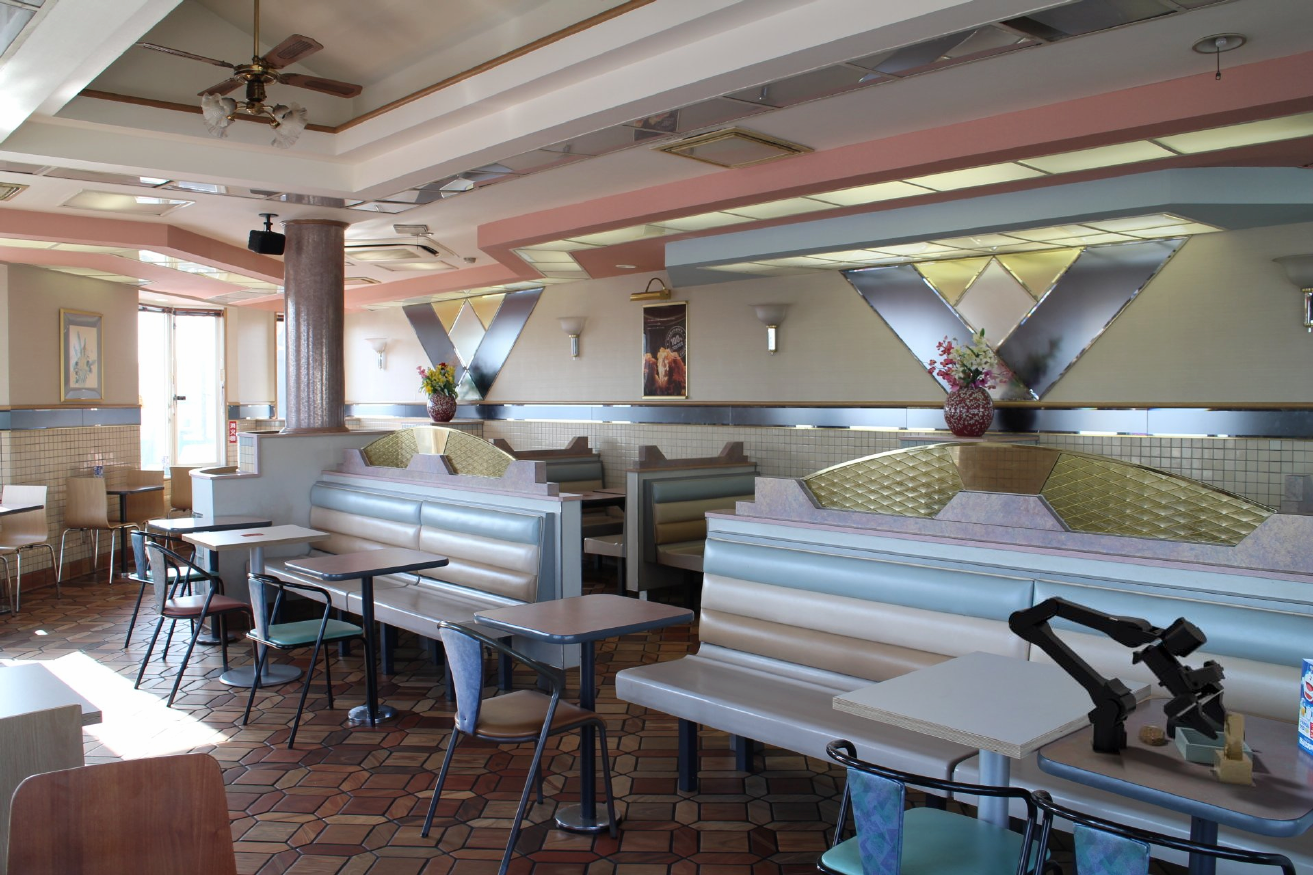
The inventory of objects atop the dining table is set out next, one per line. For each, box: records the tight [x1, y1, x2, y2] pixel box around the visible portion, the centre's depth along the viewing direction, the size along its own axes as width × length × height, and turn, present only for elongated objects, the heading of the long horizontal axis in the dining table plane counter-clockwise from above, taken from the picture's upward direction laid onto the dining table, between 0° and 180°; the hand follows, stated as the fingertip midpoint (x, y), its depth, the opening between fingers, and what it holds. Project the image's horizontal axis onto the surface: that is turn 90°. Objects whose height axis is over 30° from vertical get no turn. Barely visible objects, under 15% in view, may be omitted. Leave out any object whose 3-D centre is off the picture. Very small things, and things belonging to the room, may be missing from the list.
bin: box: [1174, 727, 1254, 765], centre depth 207 cm, size 12×12×4 cm
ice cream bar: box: [1138, 725, 1166, 746], centre depth 219 cm, size 5×4×15 cm
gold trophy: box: [1213, 711, 1253, 785], centre depth 193 cm, size 6×6×13 cm
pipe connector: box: [1165, 713, 1246, 743], centre depth 221 cm, size 12×5×15 cm
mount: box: [1209, 769, 1257, 787], centre depth 194 cm, size 7×7×4 cm
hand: (1224, 734), depth 195 cm, fingers open, 9 cm apart
